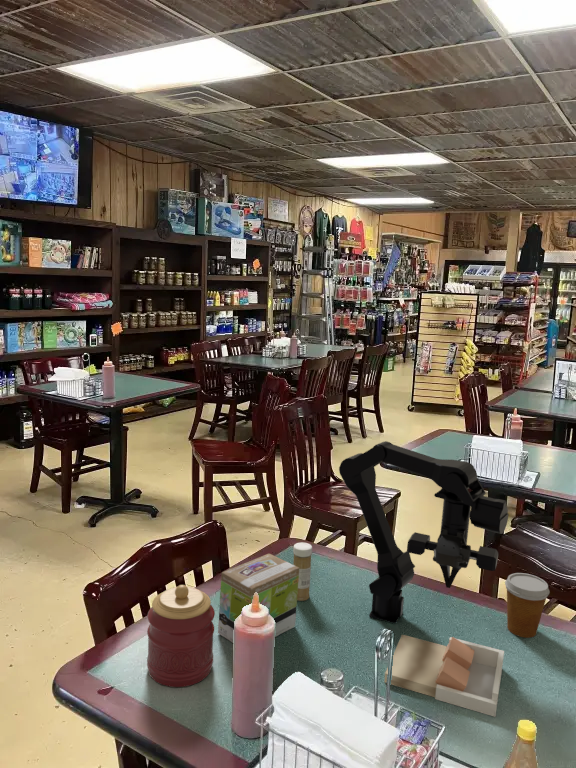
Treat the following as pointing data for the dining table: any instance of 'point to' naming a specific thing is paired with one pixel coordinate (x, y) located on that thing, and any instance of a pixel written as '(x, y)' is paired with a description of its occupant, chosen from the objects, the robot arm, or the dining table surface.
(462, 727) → the dining table surface
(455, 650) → the tile back
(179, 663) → the canister
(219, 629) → the tea box
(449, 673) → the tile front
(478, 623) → the dining table surface
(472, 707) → the bin
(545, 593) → the disposable coffee cup
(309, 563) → the sprinkles bottle
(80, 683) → the dining table surface
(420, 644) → the birch plate
